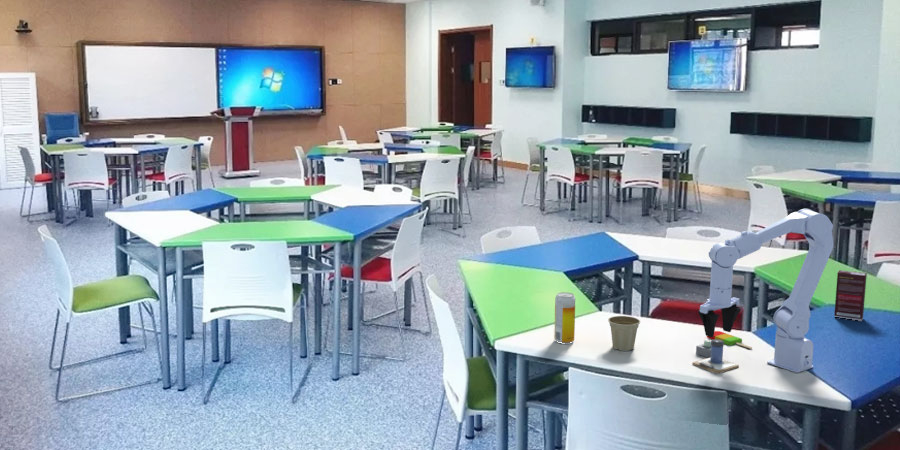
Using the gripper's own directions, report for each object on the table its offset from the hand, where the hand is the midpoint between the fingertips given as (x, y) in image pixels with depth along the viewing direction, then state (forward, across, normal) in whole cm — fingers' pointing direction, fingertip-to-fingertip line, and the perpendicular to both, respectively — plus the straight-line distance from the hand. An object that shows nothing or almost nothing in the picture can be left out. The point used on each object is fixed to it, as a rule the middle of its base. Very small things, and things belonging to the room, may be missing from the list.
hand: (718, 333), depth 216 cm
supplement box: (+10, -73, -4) cm, 74 cm away
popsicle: (+10, -20, -10) cm, 24 cm away
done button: (+7, -5, -7) cm, 11 cm away
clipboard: (+9, +1, 0) cm, 9 cm away
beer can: (+9, +23, -39) cm, 46 cm away
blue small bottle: (+8, 0, 0) cm, 8 cm away
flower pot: (+9, +12, -25) cm, 29 cm away
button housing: (+9, -5, -7) cm, 12 cm away
